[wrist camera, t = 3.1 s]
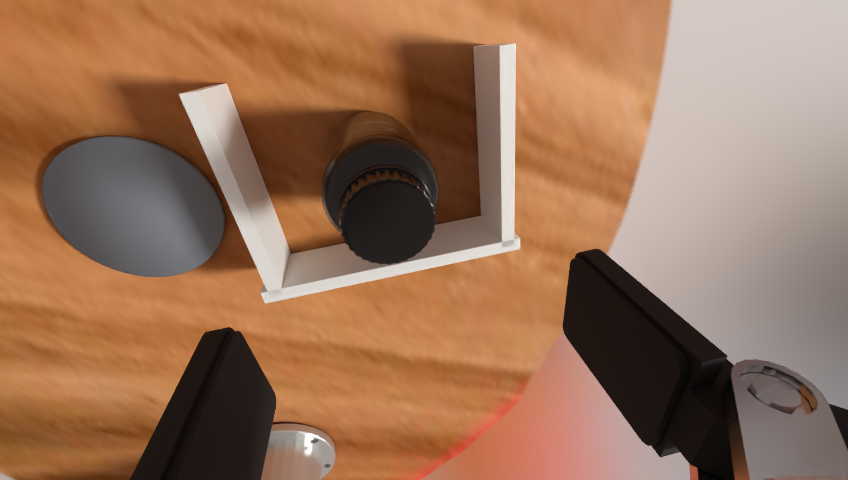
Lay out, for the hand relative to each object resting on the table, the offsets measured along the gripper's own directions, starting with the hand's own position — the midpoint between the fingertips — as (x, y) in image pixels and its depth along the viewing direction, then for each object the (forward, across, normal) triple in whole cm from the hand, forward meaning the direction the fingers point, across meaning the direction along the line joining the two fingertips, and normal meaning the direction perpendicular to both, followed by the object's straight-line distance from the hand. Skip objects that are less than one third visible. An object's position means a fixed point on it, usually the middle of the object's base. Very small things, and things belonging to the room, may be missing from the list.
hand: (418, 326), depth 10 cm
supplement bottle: (+20, 0, +1) cm, 20 cm away
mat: (+20, +18, +2) cm, 27 cm away
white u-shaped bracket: (+20, 0, +1) cm, 20 cm away
